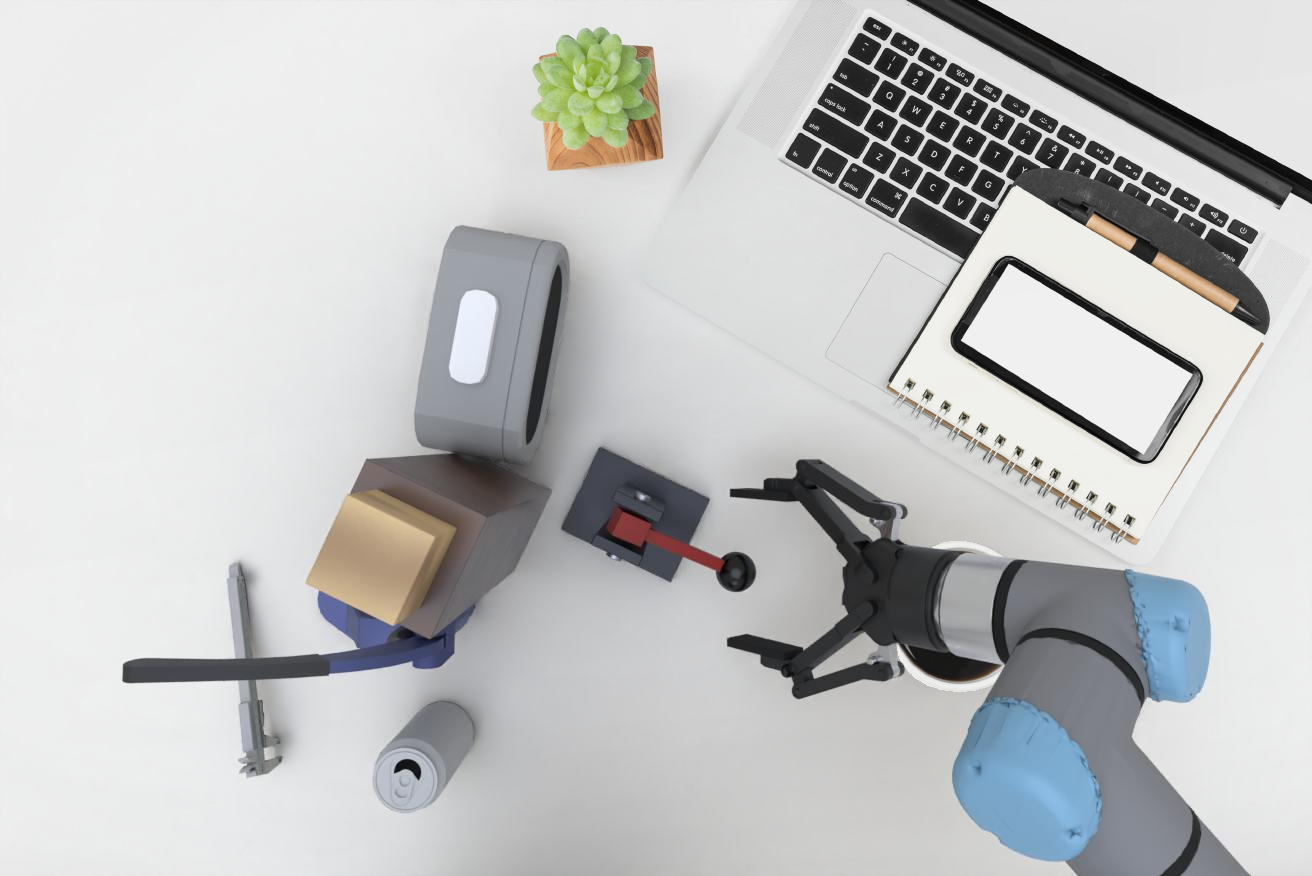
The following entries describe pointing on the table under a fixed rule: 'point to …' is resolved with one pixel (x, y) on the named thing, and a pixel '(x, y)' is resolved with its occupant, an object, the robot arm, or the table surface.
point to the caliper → (248, 685)
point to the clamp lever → (684, 550)
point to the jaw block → (381, 555)
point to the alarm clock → (492, 344)
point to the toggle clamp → (634, 511)
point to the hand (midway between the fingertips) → (737, 566)
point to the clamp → (369, 633)
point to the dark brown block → (461, 524)
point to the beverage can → (423, 757)
